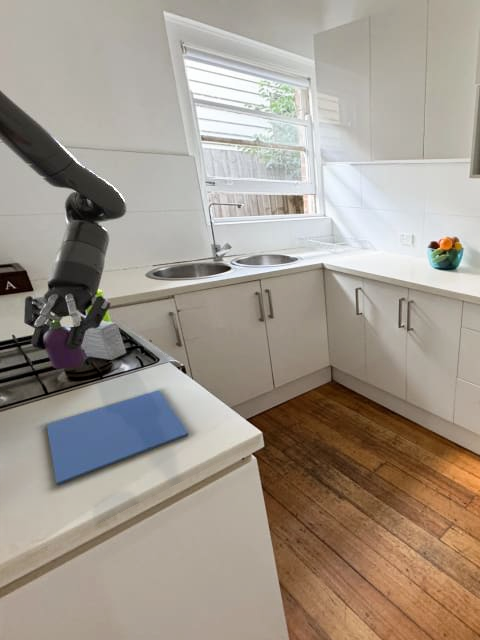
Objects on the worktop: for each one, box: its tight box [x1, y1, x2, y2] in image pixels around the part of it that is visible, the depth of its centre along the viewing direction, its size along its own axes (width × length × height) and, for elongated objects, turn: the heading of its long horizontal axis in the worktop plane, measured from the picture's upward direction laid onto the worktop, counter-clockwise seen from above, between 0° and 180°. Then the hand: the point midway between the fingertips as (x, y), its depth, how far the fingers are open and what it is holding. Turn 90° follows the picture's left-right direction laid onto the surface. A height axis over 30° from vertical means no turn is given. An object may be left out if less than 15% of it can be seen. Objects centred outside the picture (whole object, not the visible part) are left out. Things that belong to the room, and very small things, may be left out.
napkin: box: [46, 390, 189, 486], centre depth 69 cm, size 20×18×1 cm
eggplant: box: [43, 320, 87, 370], centre depth 73 cm, size 5×5×9 cm
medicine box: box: [81, 321, 127, 361], centre depth 95 cm, size 8×4×9 cm, turn 77°
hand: (55, 347), depth 71 cm, fingers closed on eggplant, 5 cm apart
